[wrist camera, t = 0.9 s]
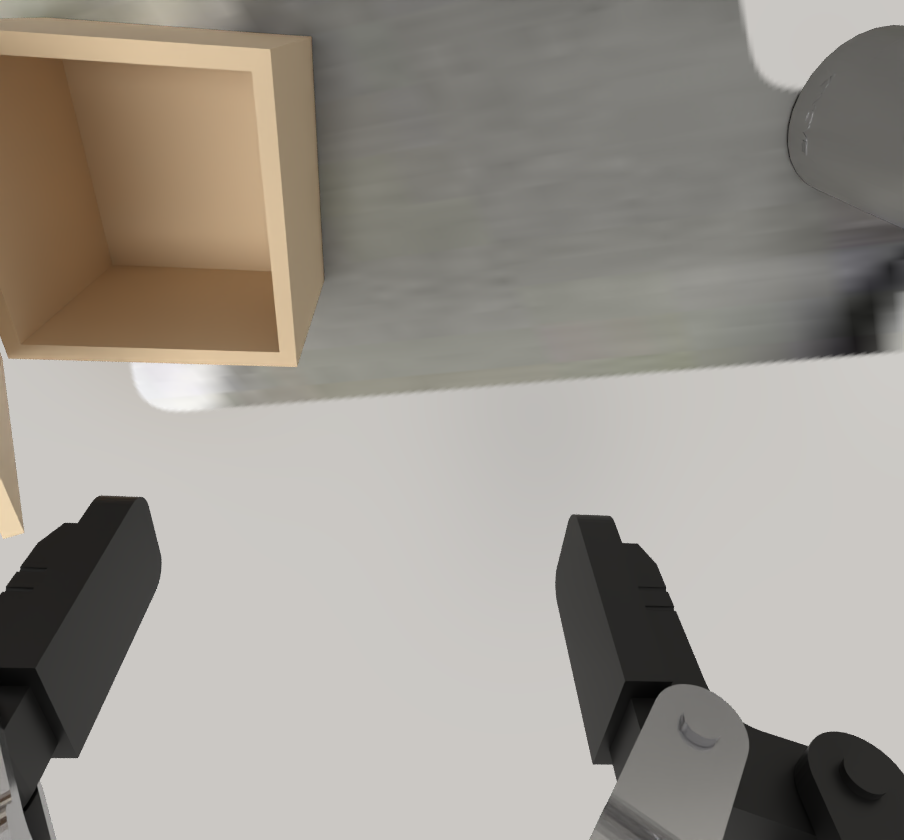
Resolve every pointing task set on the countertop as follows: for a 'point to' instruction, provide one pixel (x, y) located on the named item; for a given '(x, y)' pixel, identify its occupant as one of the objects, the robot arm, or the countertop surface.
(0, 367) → the lid flap
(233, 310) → the carton
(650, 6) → the countertop surface
